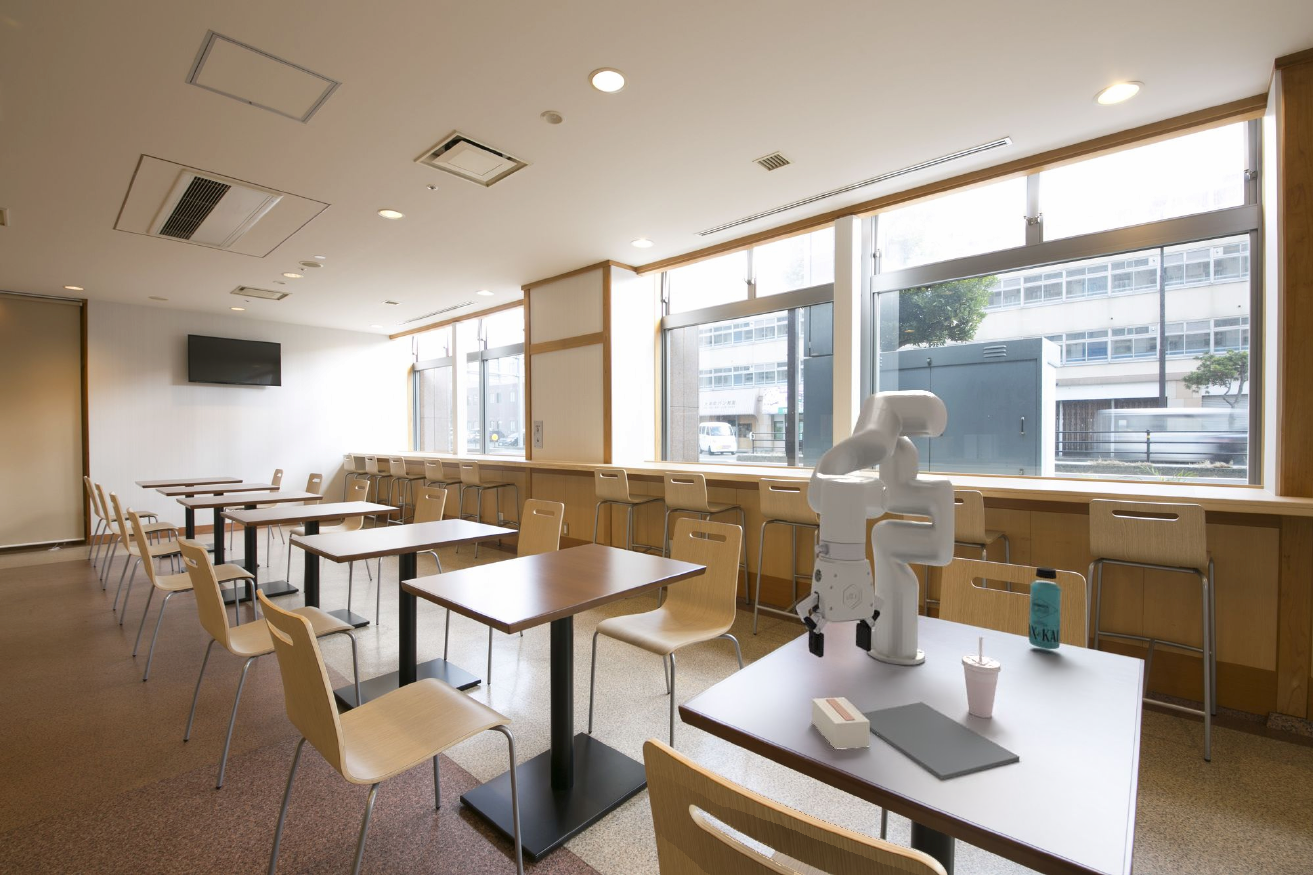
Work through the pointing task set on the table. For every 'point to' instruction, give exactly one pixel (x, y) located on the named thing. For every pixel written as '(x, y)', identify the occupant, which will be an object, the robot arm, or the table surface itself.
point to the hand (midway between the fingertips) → (840, 651)
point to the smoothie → (980, 682)
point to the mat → (937, 740)
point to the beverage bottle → (1045, 611)
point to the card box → (840, 722)
